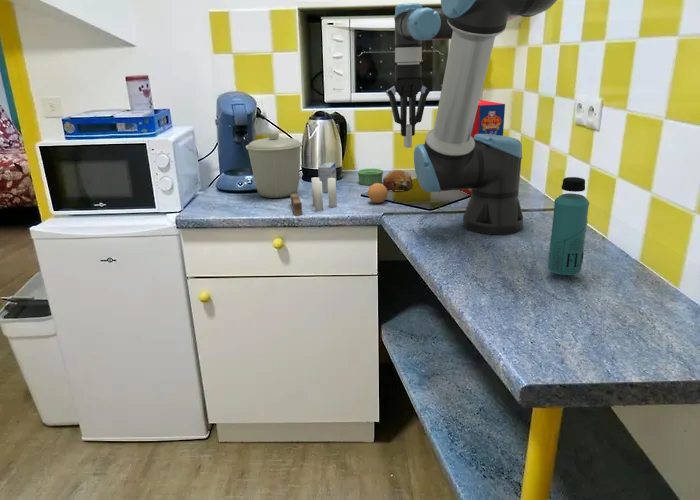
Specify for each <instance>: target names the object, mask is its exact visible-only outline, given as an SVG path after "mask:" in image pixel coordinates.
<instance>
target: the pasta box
mask: <svg viewBox="0 0 700 500" xmlns="http://www.w3.org/2000/svg"><path fill="white" fill-rule="evenodd" d="M505 110H506V103H501V102H494V101H488V100H482V99H480V100H479V104H478V108H477V112H476V116H475V120H474V124H473V128H472V132H471V137H472V138H474V136H475V135H476V134H493V135H501V136H504V124H505V113H506V112H505ZM460 190H461V191H463V192H465V193H467V194H469V195H471V191H472V189H460ZM461 191H460V192H461ZM463 192H462V193H463ZM465 193H464V194H465ZM467 194H466V195H467ZM469 195H468V196H469Z"/></svg>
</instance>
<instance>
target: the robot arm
mask: <svg viewBox="0 0 700 500" xmlns="http://www.w3.org/2000/svg"><path fill="white" fill-rule="evenodd" d="M557 1H558V0H440V7H441V8H431V7H423V6H422V4H420V3H419V2H416V3H415V2H413V3H412V2H408V3H400V4H397V5H396V6H395V9H394V11H395V13H394V18H393V19H394V62H395V63H396V65H395V66H394V83H393V84H392V87H390V88H389V89H386V90H385V93H386V95H387V97H388V99H389V102H390V106H391V107H390V108H391V110H392V111H391V112H392V115H393V121H394V123H396V124H398V125H400V136H401V137H403V147H404V148H406V149H409V148H411V149H412V147H413V137H415V135H416V124H419V123H421V122H422V120H423V115H424V110H425V107H426V102H427V97H428V96H429V94H430V93H431V89H430V88H429V87H426V86H424V83H423V81H422V69H423V68H422V67H423V66H422V64H420V63H421V62H422V60H423V58H422V54H423V53H422V52H423V51H422V50H423V41H437V40H441V41H443V40H450V44H449V49H448V54H447V60H446V64H445V65H446V66H445V70H444V75H443V79H442V80H443V81H442V84H441V85H442V86H441V91H440V96H439V101H438V106H437V110H436V116H435V122H434V126H433V129H431V130H429V131H428V132H427V133H426V136H425V138H424V139H425V140H424V144H423V143H420V144H417V145H416V146H415V147H414V149H413V165H414V171H415V176H416V179H417V183H418V184H419V186H420V188H421V189H422V190H423V191H424V192H428V193H430V192H433V193H435V192H438V193H441V192H446V191H447V192H448V191H456V190H458V191H459V190H460V189H472V191H471V196H470V197H469V201H468V203H467V206H466V208H465V211H464V214H463V216H462V217H463V219H462V225H463V226H464V228H466V229H468V230H469V231H472V232H474V233H475V232H476V233H480V234H487V235H506V234H508V235H509V234H514V233H517V232H519V231H521V230H523V228H524V215H523V212H522V208H521V207H522V206H521V203H520V200H519V193H520V192H519V191H520V181H521V179H520V178H521V168H522V159H523V145H522V142H521V140H519V139H518V138H515V137H511V136H506V135H503V136H501V135H493V134H476V135H475V136H474V138H472V137H471V132H472V128H473V124H474V120H475V116H476V112H477V108H478V104H479V100H481V99H480V98H481V96H482V91H483V87H484V83H485V79H486V76H487V72H488V67H489V64H490V60H491V56H492V51H493V48H494V44H495V39H496V37H497V36H499V35H501V34H502V33H503V32H504V31H505V30H506V28H507V23H508V22H510V21H512V20H514V19H515V20H516V19H517V18H518V17H521V18H531V17H535V16H536V15H540V14H542V13H544V12H546V11H547V10H549V9H550V8H552V7H553V5H555V4H556V3H557ZM396 93H397V94H398V96H399V100H400V101H399V102H400V106H399V107H400V110H399V107H398V102H397V98H396V96H395V95H396ZM419 93H420V97H419V100H418V104H417V103H416V102H417V96H418V94H419ZM416 104H417V107H416ZM416 108H417V109H416ZM407 113H408V114H409V115H408V116H407ZM407 117H408V119H407ZM407 120H408V122H407Z"/></svg>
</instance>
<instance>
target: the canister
mask: <svg viewBox="0 0 700 500" xmlns="http://www.w3.org/2000/svg"><path fill="white" fill-rule="evenodd" d="M279 136H280V133H279V131H278V130H275V129H271V130H269V131H268V133H267V137H265V138H259V139H255V140H252V141H250V142H249V143H248V144H247V145H245V148H246V150H247V151H248V155H249V157H248V158H249V161H250V165H251V170H252V175H253V180H254V185H255V188H256V191H257V193H258V194H259V195H260V196H261V197H263V198H266V199H267V198H269V199H280V198H287V197H291V193H297V192H298V189H299V185H300V171H301V169H300V168H301V167H300V166H301V148H302V146H303V142H301V141H299V140H298V139H296V138H293V137H283V136H282V137H279Z"/></svg>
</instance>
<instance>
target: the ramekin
mask: <svg viewBox="0 0 700 500" xmlns="http://www.w3.org/2000/svg"><path fill="white" fill-rule="evenodd" d="M383 174H384V170H383V169H381V168H363V169H359V170H358V171H357V175H358V183H359V184H360V185H361V186H369V187H370V186H371V185H373V184H375V183H380V184H383Z"/></svg>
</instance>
